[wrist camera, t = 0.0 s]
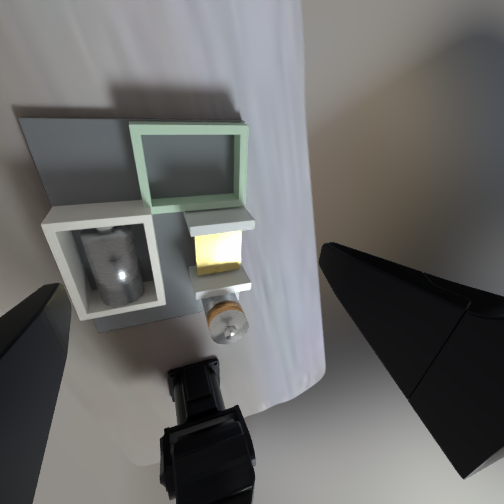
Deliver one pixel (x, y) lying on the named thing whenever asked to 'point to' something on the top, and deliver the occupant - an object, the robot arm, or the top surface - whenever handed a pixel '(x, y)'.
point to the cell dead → (114, 263)
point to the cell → (225, 318)
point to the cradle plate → (217, 252)
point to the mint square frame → (142, 205)
